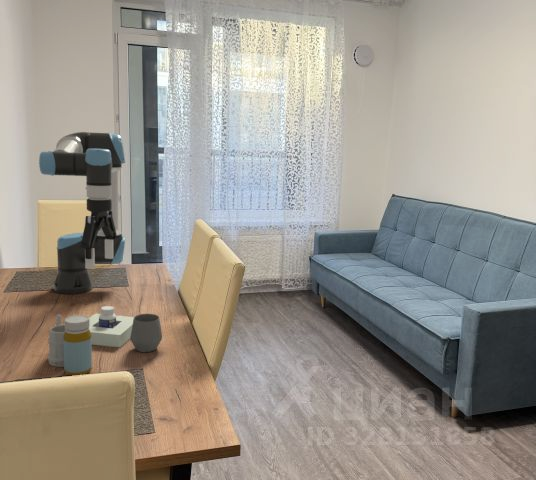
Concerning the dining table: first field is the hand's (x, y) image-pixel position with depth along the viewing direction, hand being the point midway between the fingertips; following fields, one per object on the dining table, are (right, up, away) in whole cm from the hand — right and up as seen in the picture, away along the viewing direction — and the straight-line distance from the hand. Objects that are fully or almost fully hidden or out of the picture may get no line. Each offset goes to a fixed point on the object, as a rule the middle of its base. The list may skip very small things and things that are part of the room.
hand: (100, 263), depth 162 cm
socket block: (+2, -23, 0) cm, 23 cm away
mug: (-5, -27, -19) cm, 33 cm away
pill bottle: (+2, -23, 0) cm, 23 cm away
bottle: (+3, -28, -26) cm, 39 cm away
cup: (+17, -26, -9) cm, 33 cm away
